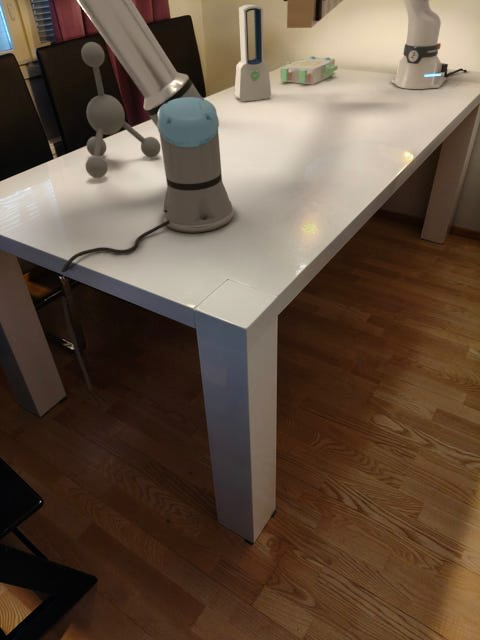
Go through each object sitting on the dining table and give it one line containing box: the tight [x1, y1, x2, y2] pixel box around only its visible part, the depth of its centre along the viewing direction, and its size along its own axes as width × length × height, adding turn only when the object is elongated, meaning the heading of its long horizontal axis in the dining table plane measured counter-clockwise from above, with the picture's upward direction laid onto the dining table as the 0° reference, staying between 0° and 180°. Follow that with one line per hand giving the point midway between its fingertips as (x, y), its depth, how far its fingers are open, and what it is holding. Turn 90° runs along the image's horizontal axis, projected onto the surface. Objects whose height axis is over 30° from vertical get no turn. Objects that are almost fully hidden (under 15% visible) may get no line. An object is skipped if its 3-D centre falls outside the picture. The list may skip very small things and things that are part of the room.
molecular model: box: [80, 41, 161, 179], centre depth 128 cm, size 24×22×30 cm
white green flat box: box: [280, 56, 338, 85], centre depth 206 cm, size 26×6×20 cm
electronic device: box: [234, 4, 272, 103], centre depth 177 cm, size 12×8×30 cm, turn 105°
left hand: (304, 19), depth 99 cm, fingers closed on post, 5 cm apart
